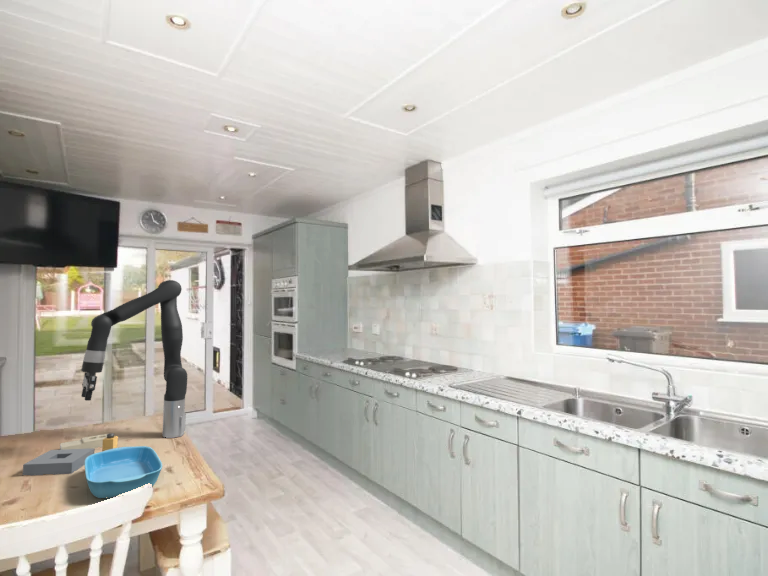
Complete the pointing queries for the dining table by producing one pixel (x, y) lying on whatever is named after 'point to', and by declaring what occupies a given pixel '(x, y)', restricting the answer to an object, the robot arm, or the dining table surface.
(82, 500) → the dining table surface
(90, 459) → the casserole dish
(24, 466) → the socket
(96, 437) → the electrical outlet
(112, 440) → the plug
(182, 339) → the robot arm
